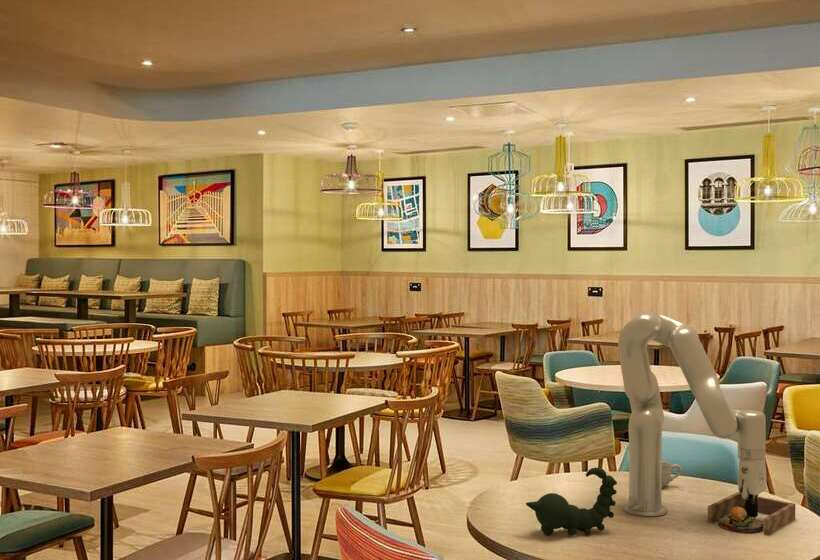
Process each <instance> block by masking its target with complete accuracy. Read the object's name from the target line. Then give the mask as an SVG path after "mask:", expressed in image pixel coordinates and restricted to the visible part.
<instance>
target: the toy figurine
mask: <svg viewBox="0 0 820 560" xmlns="http://www.w3.org/2000/svg"><path fill="white" fill-rule="evenodd" d="M592 475H595V476H597V477H598V479H600V480H601V483H602V484H601V485H600V486H599V494H598V495H597V497H596V502H595V503H594V504H593V505H592V507H591V508H580V507H578V506H577V505H575V504H569V501H568V500H567V499H566V498H565V497H564V496H563V495H561V494H558V493H555V492H552V493H551V492H550V493H546V494H543V495H542V496H541V497H539V499H538V500H536V501H528V502H526V503H525V505H526V506H527V507H528V508H530V509H531V510H532V511H534V513H535V516H536V520H537V522H539V524H540V525H541V526H540V531H541V532H542V534H544V535H545V536H547V537H549V536H551V535H552V534H554V530H558V529H562V528H563V530H565V531H566V530H567V533H568V534H569V535H570V536H573V535H576V534H577V531H579V532H583V534H584V535H585V536H590V535H591V533H592V529H593V528H596V529H597V530H598V531H601V532H602V531H604V530H605V524H604V523H603V522H604V519H606V518H607V517H608V518H609V519H613V518H614V516H615V513H614V512H613V511H611V508H610V507H611V506H612V507H613V506H616V501H615V500H614V499H613V496H615V495H616V494H617V489H615V488H614V486H616V485H617V484H618V481H617V480H615V478H614V477H613V476H612V475H609V474H608V475H607V471H606V470H605V469H603V468H602V467H592V468H590V469H588V471H586V473H585V477H586V478H587V477H589V476H592Z"/></svg>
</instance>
